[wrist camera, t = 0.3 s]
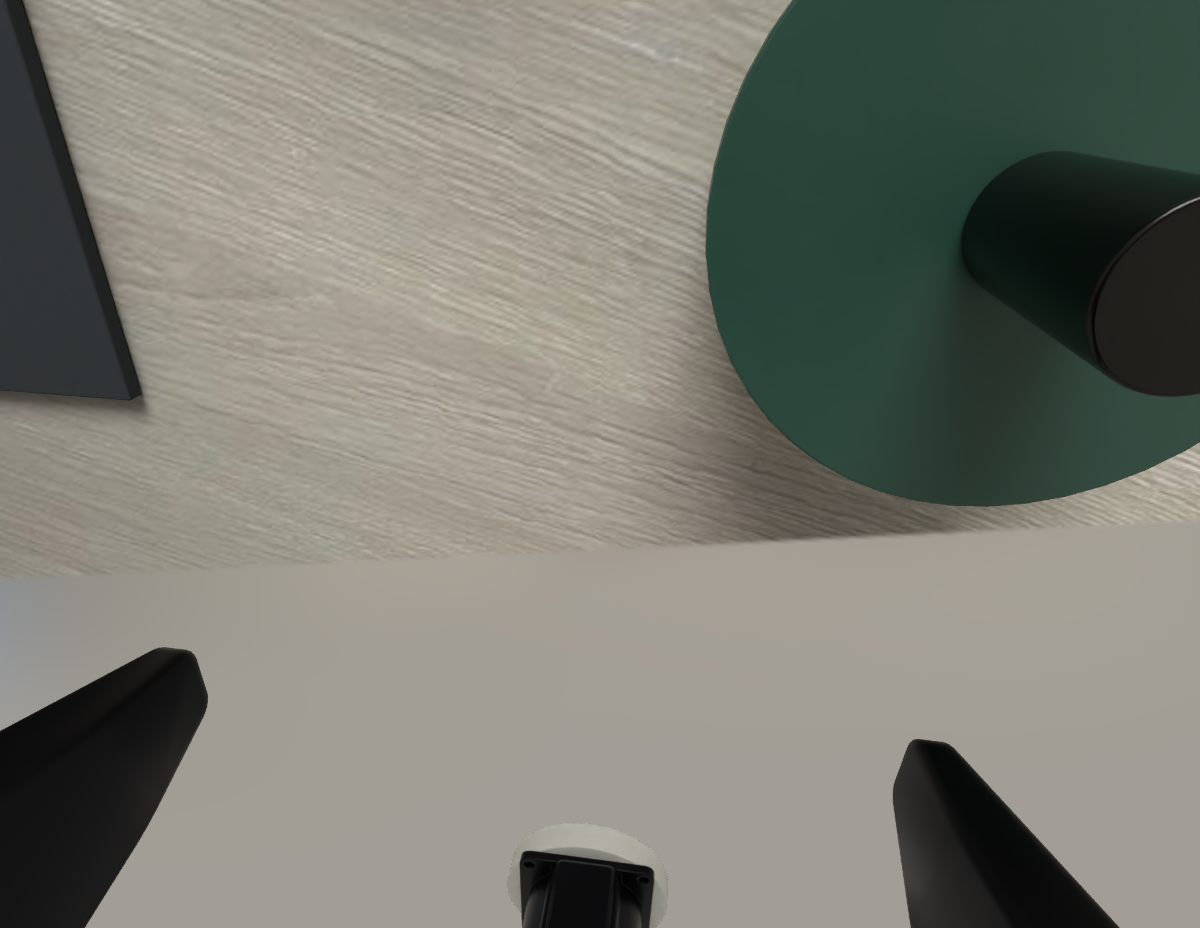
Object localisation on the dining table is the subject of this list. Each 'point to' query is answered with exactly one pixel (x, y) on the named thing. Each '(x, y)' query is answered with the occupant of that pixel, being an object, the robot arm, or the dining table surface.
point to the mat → (48, 246)
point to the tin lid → (967, 241)
